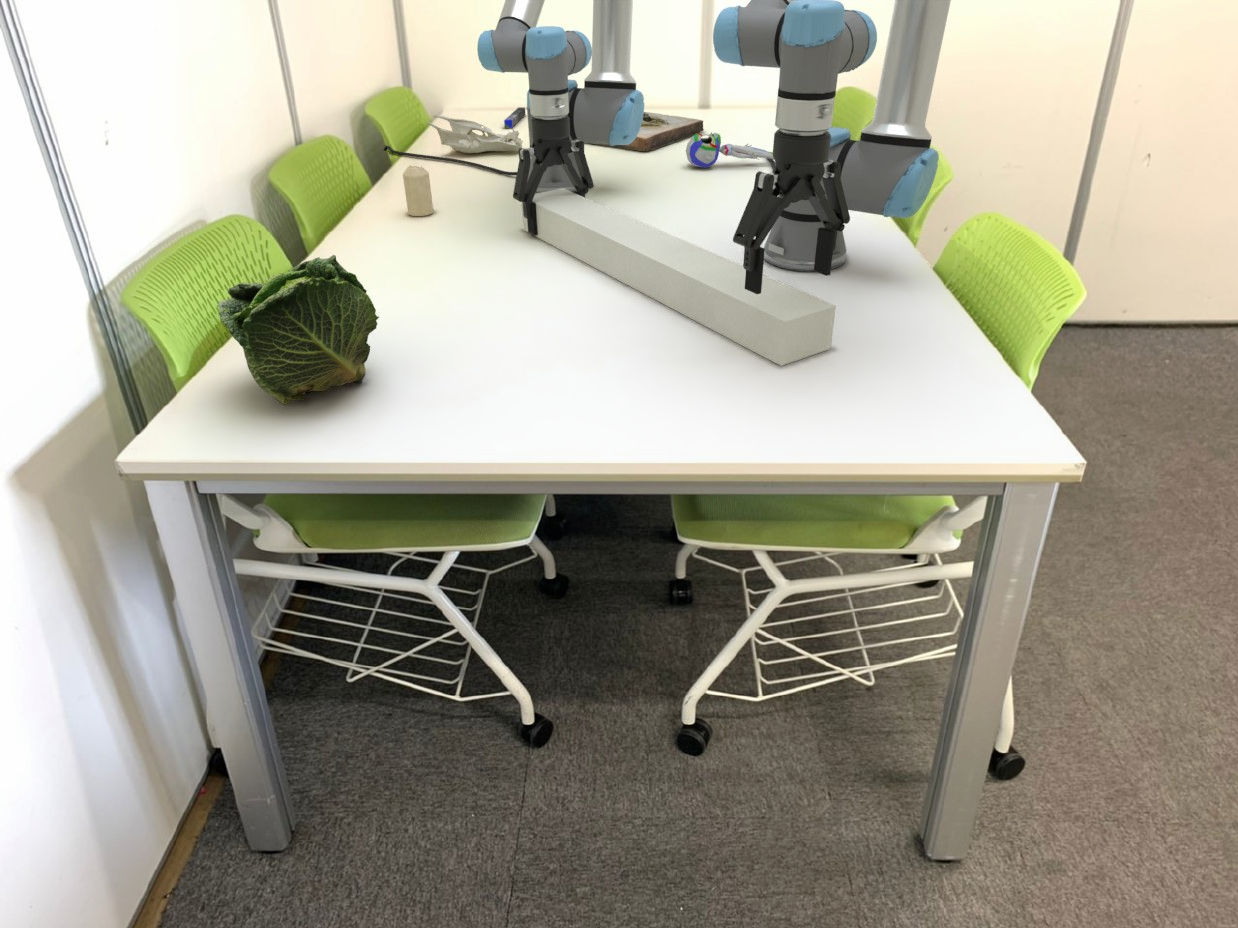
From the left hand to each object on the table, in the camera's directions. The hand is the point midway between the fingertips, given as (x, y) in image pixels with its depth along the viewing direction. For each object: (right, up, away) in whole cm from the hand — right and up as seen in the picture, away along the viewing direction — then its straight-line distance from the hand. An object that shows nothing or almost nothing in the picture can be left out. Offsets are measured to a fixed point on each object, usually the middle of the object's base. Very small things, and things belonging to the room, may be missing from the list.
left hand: (555, 228), depth 185 cm
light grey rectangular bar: (+19, -16, -24) cm, 35 cm away
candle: (-31, +7, +12) cm, 34 cm away
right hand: (+38, -22, -54) cm, 70 cm away
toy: (+45, +28, +44) cm, 69 cm away
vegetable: (-30, -38, -57) cm, 75 cm away
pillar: (-19, +57, +93) cm, 111 cm away
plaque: (+17, +46, +74) cm, 89 cm away
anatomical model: (-26, +37, +60) cm, 75 cm away
